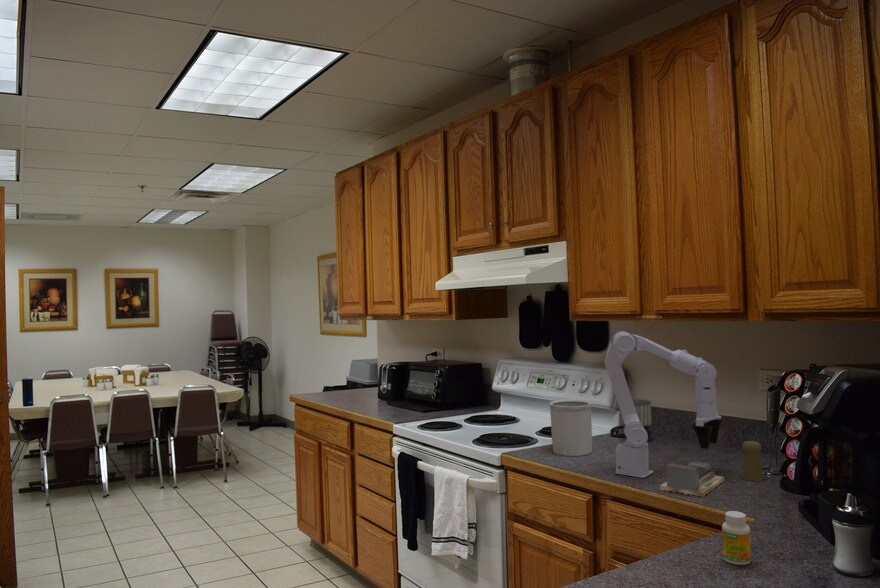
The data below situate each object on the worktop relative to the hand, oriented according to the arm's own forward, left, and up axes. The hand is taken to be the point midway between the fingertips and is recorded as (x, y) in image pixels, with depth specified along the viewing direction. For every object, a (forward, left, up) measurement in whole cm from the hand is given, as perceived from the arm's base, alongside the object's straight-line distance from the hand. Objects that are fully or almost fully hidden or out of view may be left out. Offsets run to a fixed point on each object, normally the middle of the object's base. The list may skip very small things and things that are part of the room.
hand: (708, 445), depth 200 cm
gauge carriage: (+1, -7, -8) cm, 11 cm away
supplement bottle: (+24, -60, -9) cm, 66 cm away
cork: (+11, +4, -9) cm, 15 cm away
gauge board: (-1, -13, -9) cm, 16 cm away
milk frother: (-40, +35, -9) cm, 54 cm away
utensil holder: (-49, +4, -9) cm, 50 cm away
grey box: (-1, -21, -8) cm, 22 cm away
